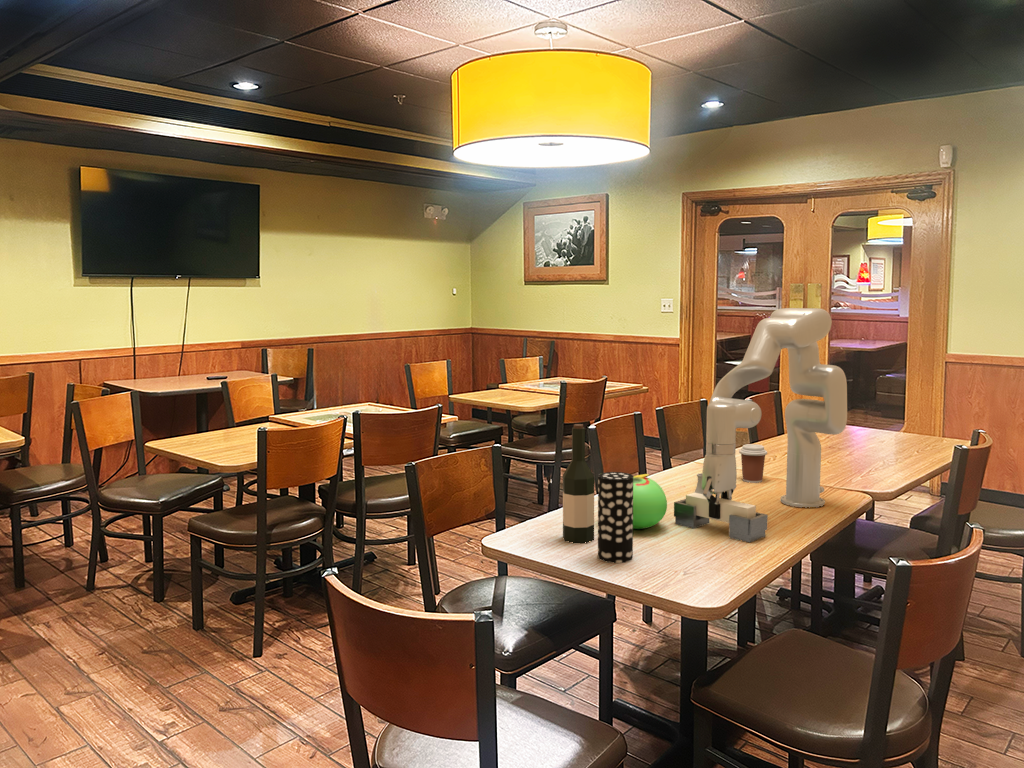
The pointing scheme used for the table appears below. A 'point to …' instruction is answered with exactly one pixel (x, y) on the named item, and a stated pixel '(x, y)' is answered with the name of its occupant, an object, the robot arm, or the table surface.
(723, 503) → the rail
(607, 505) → the white-spotted black cylinder
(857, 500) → the table surface
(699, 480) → the flask
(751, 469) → the coffee cup
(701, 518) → the bracket
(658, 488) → the toy bird
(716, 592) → the table surface
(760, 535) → the bracket
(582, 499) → the wine bottle
